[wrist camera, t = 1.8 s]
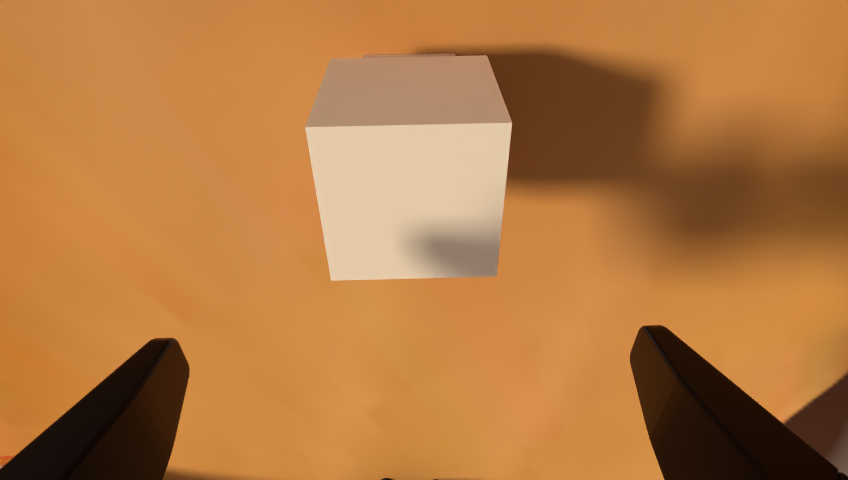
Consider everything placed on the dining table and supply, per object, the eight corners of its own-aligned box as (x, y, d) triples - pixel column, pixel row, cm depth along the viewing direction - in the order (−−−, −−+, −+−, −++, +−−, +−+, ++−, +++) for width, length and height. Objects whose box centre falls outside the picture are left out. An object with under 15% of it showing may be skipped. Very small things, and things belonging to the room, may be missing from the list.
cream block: (477, 30, 18) (512, 122, 12) (471, 153, 21) (496, 276, 15) (339, 33, 18) (305, 127, 12) (353, 155, 21) (331, 280, 15)
